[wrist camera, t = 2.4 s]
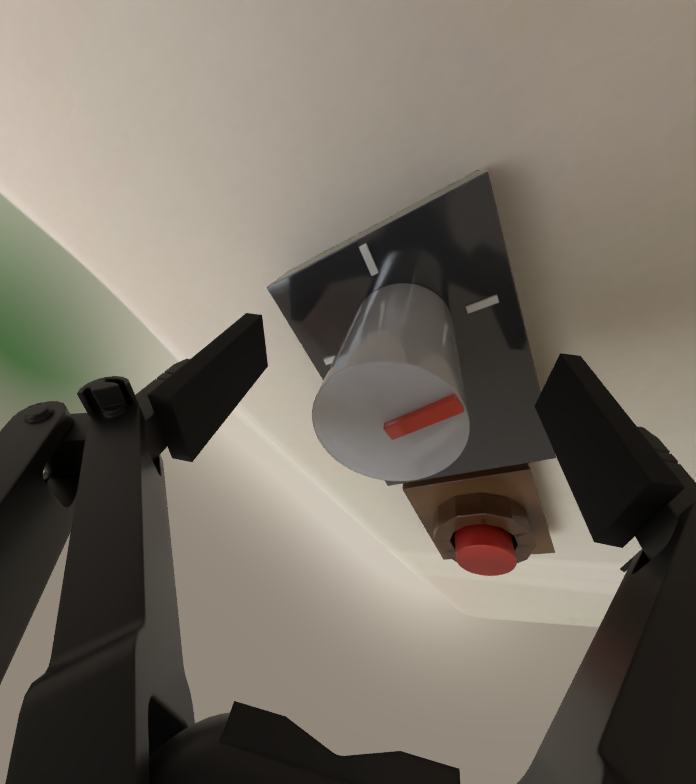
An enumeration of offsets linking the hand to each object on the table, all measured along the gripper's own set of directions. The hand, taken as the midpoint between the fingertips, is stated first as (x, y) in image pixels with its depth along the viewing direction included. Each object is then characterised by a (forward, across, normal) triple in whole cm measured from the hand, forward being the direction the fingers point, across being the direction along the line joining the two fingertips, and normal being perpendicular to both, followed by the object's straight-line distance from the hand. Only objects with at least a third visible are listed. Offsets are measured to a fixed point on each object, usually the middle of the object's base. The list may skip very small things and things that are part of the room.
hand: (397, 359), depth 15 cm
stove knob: (+3, 0, 0) cm, 3 cm away
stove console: (+6, +2, -2) cm, 6 cm away
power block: (+6, +8, -15) cm, 18 cm away
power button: (+2, +8, -15) cm, 18 cm away
